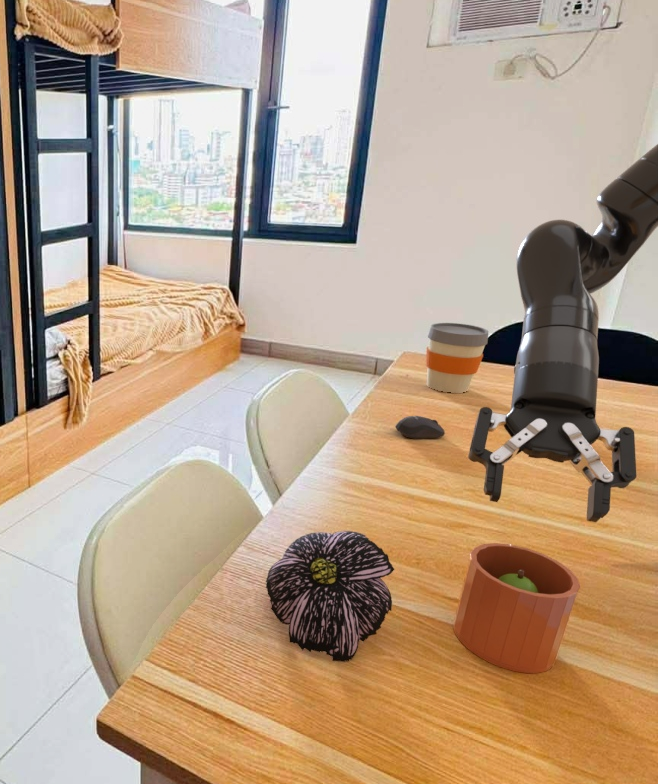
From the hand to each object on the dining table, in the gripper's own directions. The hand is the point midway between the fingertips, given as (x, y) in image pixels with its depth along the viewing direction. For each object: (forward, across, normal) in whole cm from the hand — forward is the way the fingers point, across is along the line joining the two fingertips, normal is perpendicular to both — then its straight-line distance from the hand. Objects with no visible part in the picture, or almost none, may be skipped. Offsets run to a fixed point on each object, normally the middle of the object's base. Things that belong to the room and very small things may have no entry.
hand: (543, 509), depth 66 cm
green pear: (+11, 0, +14) cm, 18 cm away
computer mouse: (-32, -11, +58) cm, 67 cm away
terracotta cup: (+12, 0, +14) cm, 18 cm away
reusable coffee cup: (-57, -6, +83) cm, 101 cm away
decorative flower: (+17, -19, +9) cm, 27 cm away
